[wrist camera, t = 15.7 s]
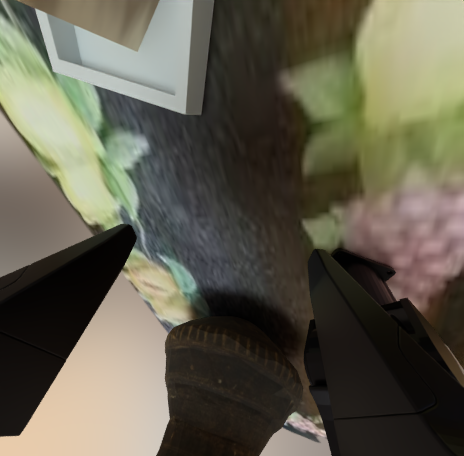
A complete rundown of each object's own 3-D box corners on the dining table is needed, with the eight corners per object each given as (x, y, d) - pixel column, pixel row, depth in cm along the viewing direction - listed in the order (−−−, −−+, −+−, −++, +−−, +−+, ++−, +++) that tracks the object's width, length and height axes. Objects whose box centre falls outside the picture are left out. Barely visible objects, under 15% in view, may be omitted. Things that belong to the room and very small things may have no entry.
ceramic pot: (329, 332, 28) (397, 709, 10) (265, 368, 42) (246, 551, 24) (198, 268, 29) (49, 510, 11) (179, 324, 43) (100, 470, 25)
